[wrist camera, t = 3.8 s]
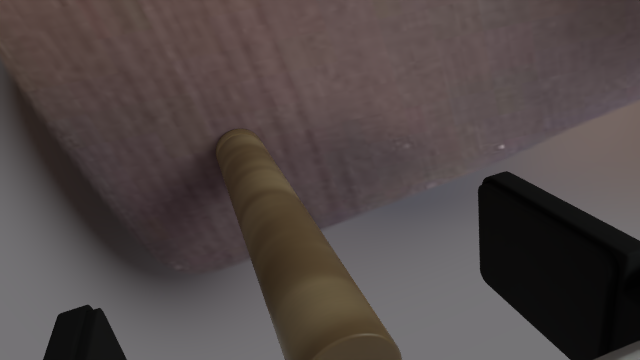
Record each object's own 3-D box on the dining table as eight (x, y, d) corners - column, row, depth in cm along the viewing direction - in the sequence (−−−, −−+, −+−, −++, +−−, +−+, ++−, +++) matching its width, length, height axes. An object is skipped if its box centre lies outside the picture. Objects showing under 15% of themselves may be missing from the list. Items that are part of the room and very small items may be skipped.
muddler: (222, 178, 20) (309, 439, 8) (210, 135, 19) (288, 360, 7) (266, 165, 20) (407, 397, 9) (256, 123, 19) (397, 318, 8)
